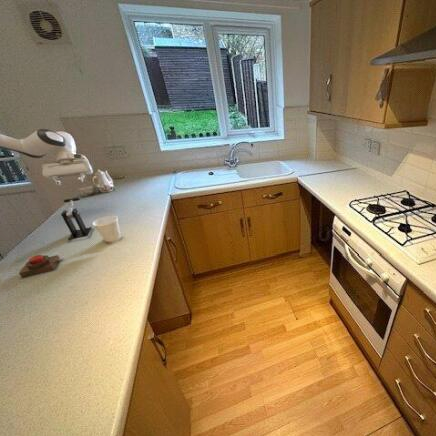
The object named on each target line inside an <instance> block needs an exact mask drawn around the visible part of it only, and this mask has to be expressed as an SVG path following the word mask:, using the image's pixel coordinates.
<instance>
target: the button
mask: <svg viewBox="0 0 436 436" xmlns="http://www.w3.org/2000/svg"><path fill="white" fill-rule="evenodd" d="M43 260H44V258H43V255H42V254H38V255H34V256H32V257H30V258H29V259H28V261H30V263H31V264H36V263H39V262H41V261H43Z"/></svg>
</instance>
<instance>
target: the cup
mask: <svg viewBox="0 0 436 436" xmlns="http://www.w3.org/2000/svg"><path fill="white" fill-rule="evenodd" d="M118 219H119V218H118V216H116V215H107V216H103V217H101V218H98V219H95V220H94V221H93V222H92V224H91V225H92V227H94V228H95V229H96V231H97V232H98V233H99V235H100V236H101V237H102V238H103V240H104V241H105V243H112V242H115V241H116V242H117V241H118V240H119V239H121V237H122V236H121V230H120V225H119V220H118Z"/></svg>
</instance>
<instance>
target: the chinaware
mask: <svg viewBox="0 0 436 436" xmlns="http://www.w3.org/2000/svg"><path fill="white" fill-rule="evenodd" d="M95 179H96V180H97V183H96V181H95ZM91 180H92V184H93V186H92V185H88V186H82V187H81V188H78V191H80V195H82V196H83V197H84V196H85V197H89V196H90V197H91V196H93V193H94V188H95V186H96V188H95V189H96V190H97V191H98V192H99V193H101V194H105V193H110V192H112V191H114V190H115V189H114V187H115V182H116V180H115V179H113V178H112V177H111V176H110V175H109V173H108V170H105V171H102V170H100V169H97V171H96V172H95V173H94V176H93V177H92V179H91ZM94 185H95V186H94Z"/></svg>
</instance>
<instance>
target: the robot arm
mask: <svg viewBox="0 0 436 436" xmlns="http://www.w3.org/2000/svg"><path fill="white" fill-rule="evenodd" d="M76 145H77V144H76V142H75V139H74V137H73V136H72V135H71V134H70V133H68V132H65V131H60V130H58V131H53V130H51V129H49V128H39V129H37V130H36V131H34V132H32V133H31V134H30V135H28V136H27V137H25V138H15V137H11V136H8V135H5V134H2V133H0V148H1V149H4V150H9V151H12V152H16V153H18V154H21V155H25V156H27V157H29V158H33V159H41V158H43V157H45V156H47V154H48V153H50V152H53V153H54V158H55V161H46V162H45V163H42V165H41V167H42V168H41V169H42V170H41V173H42V176H43V178H44V179H47V180H53V181H54V182H55V185H56V186H61V185H62V181H60V180H59V179H63V178H71V177H78V176H80V177H78V182H79V183H84V179H85V177H86V176H87V175H93V173H94V170H93V167H92V164H91V163H90V161H89V159H88V158H87V156H85V155H84V154H79V153H77V146H76Z"/></svg>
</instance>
